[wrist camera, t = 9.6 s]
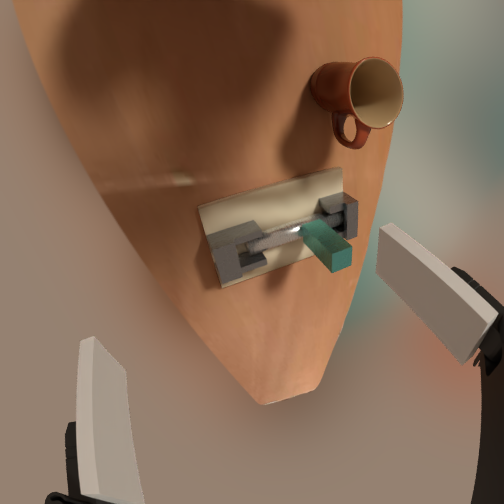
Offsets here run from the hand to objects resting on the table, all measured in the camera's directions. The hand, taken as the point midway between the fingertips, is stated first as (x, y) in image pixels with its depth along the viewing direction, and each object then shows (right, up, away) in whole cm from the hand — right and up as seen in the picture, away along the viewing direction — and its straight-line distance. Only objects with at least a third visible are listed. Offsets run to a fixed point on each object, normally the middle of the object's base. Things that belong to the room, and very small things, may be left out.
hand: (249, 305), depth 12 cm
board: (+4, +6, +32) cm, 33 cm away
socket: (+13, +8, +33) cm, 37 cm away
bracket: (-2, +3, +30) cm, 31 cm away
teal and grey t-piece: (+6, +6, +32) cm, 33 cm away
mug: (+11, +24, +24) cm, 35 cm away
